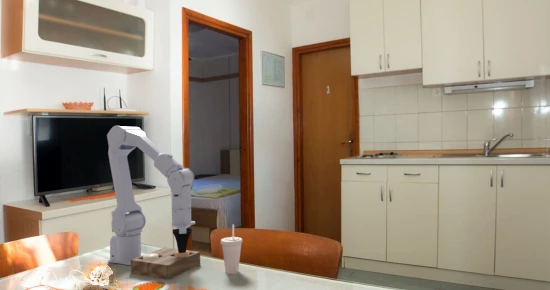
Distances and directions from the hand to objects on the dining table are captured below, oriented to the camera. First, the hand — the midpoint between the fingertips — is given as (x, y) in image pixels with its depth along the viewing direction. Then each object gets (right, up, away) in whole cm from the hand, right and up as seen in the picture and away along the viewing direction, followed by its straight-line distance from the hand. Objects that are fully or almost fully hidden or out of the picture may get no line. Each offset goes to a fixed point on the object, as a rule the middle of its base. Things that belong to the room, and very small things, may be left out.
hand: (182, 252), depth 120 cm
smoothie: (+16, -5, -5) cm, 17 cm away
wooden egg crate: (-4, -5, -1) cm, 7 cm away
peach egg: (0, -3, 0) cm, 3 cm away
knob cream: (-9, -4, -3) cm, 10 cm away
